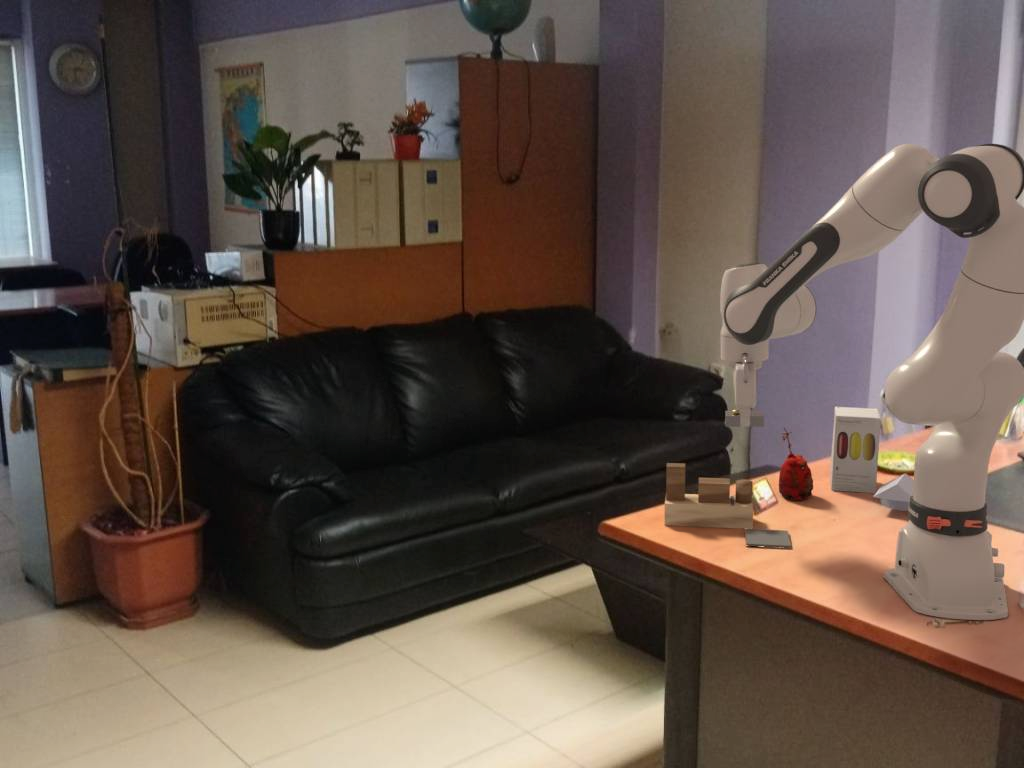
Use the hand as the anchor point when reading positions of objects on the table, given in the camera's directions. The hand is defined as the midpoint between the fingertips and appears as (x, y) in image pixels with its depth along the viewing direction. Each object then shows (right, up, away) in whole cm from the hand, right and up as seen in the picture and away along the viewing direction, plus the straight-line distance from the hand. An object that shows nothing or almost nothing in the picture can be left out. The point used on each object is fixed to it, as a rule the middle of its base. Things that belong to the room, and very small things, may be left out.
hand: (744, 422), depth 194 cm
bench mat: (+4, -22, -1) cm, 23 cm away
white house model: (+36, -18, +16) cm, 43 cm away
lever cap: (0, 0, 0) cm, 0 cm away
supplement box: (+31, -15, +30) cm, 46 cm away
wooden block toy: (-5, -20, +10) cm, 23 cm away
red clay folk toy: (+16, -17, +24) cm, 34 cm away
